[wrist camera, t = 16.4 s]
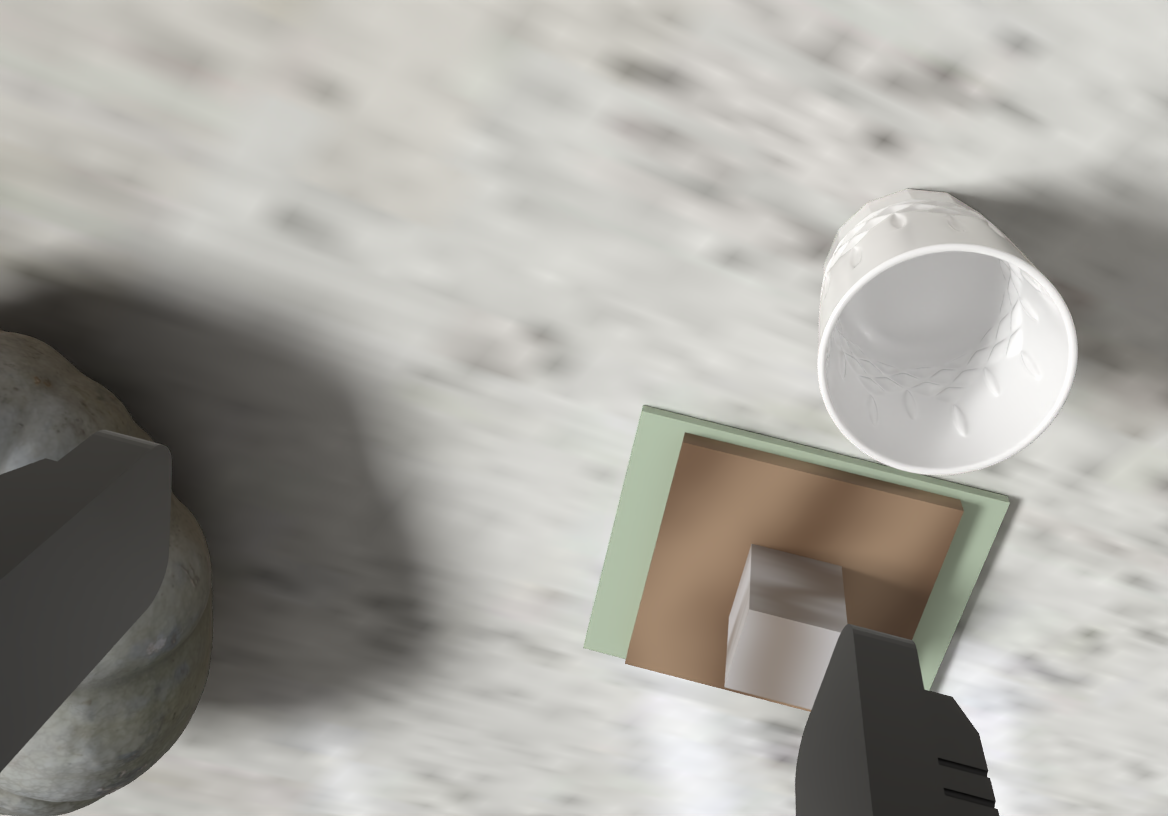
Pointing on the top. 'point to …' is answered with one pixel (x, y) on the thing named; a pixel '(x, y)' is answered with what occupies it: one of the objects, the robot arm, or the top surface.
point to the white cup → (939, 337)
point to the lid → (781, 569)
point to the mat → (667, 429)
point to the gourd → (146, 651)
